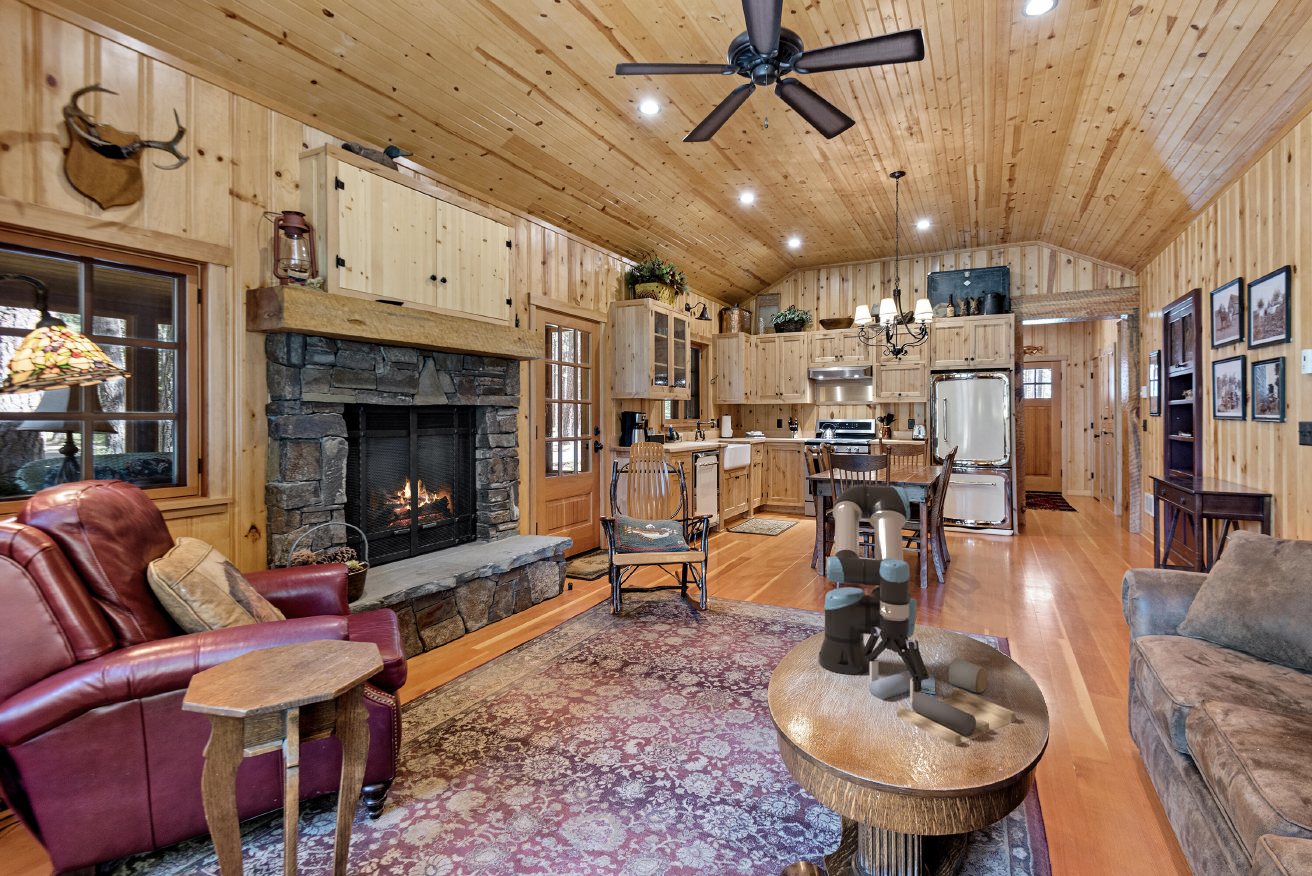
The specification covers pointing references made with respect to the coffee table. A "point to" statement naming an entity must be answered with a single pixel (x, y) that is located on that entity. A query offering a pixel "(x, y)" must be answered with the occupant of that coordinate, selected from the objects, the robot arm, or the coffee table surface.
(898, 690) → the gray dowel
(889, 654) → the coffee table surface
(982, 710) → the slot rack
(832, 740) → the coffee table surface
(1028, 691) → the coffee table surface
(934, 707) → the charcoal rod
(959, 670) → the ceramic mug
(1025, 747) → the coffee table surface
